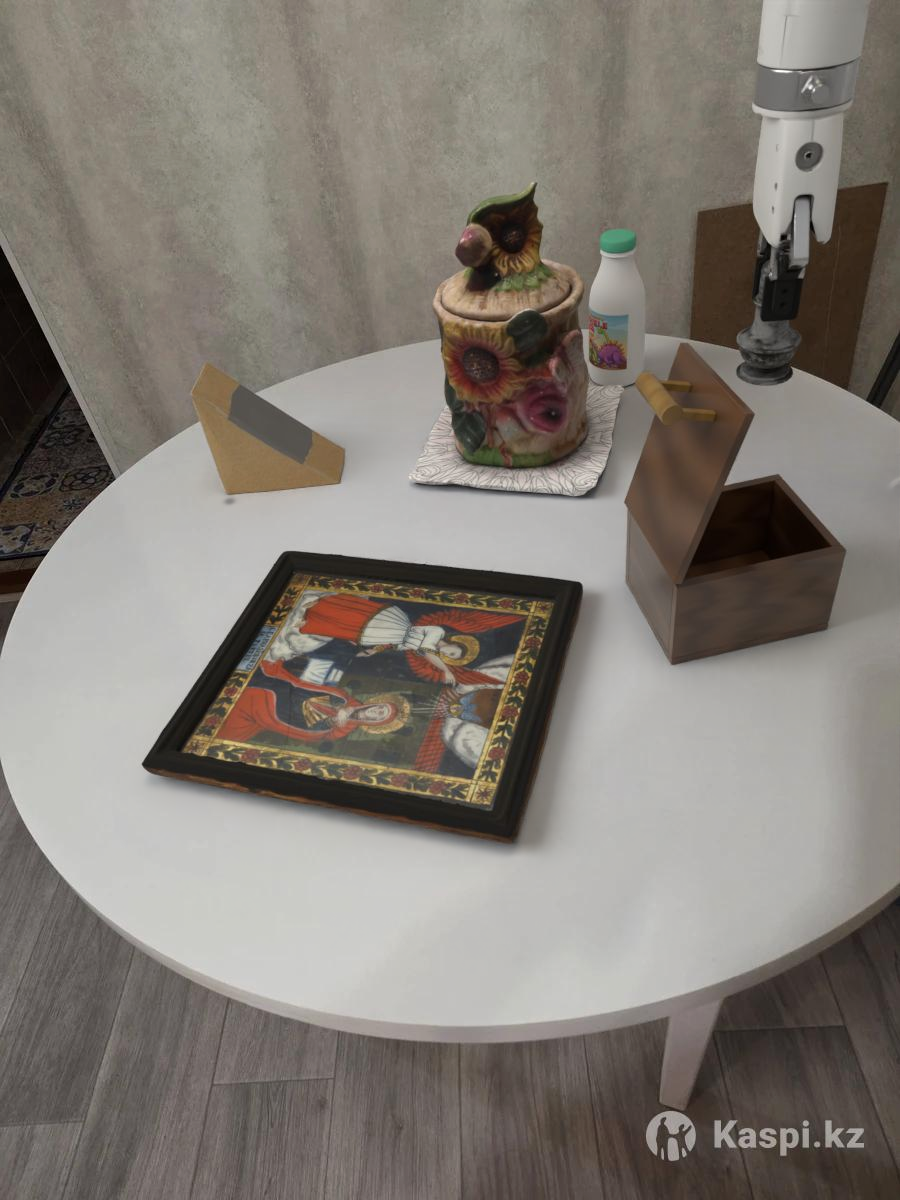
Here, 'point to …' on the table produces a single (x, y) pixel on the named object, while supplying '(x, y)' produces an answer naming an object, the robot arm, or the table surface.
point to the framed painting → (381, 692)
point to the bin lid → (685, 457)
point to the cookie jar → (515, 365)
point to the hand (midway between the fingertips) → (773, 307)
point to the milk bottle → (617, 313)
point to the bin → (740, 575)
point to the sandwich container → (260, 439)
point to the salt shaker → (766, 346)
